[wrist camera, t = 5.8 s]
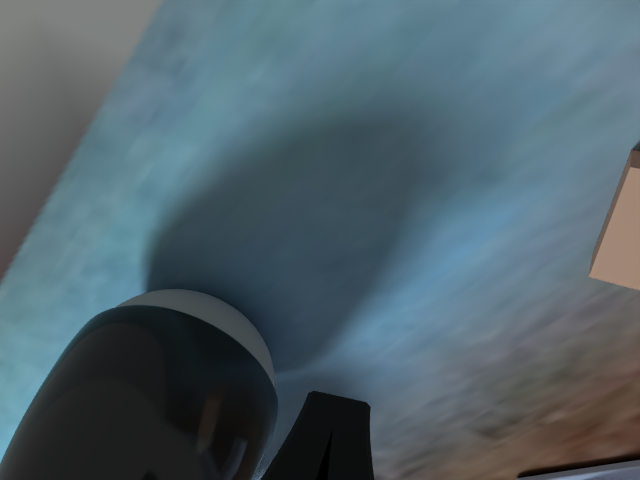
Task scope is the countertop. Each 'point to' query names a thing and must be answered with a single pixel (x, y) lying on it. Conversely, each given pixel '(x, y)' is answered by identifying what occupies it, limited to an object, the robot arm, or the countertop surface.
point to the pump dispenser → (152, 397)
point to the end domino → (621, 232)
